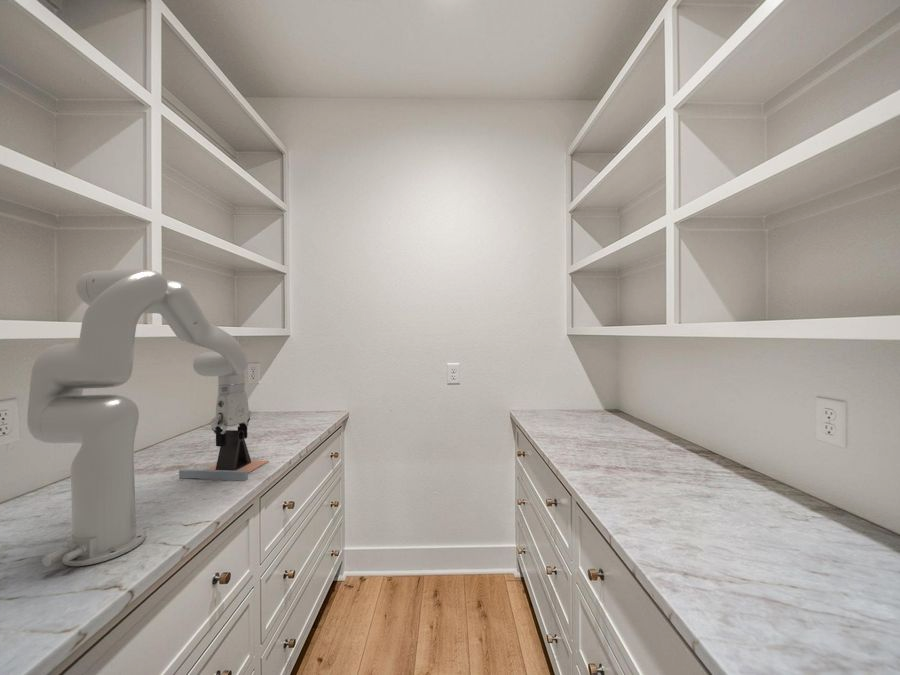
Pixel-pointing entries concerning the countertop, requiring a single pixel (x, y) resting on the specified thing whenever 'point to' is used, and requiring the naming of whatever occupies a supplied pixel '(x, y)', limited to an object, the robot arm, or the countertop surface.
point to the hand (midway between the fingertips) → (232, 442)
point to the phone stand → (233, 452)
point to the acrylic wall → (214, 474)
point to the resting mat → (247, 466)
